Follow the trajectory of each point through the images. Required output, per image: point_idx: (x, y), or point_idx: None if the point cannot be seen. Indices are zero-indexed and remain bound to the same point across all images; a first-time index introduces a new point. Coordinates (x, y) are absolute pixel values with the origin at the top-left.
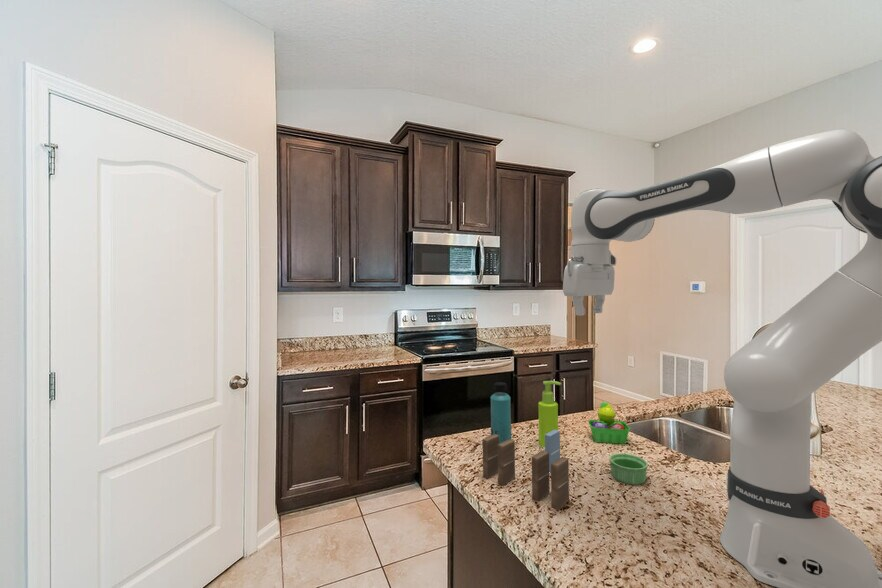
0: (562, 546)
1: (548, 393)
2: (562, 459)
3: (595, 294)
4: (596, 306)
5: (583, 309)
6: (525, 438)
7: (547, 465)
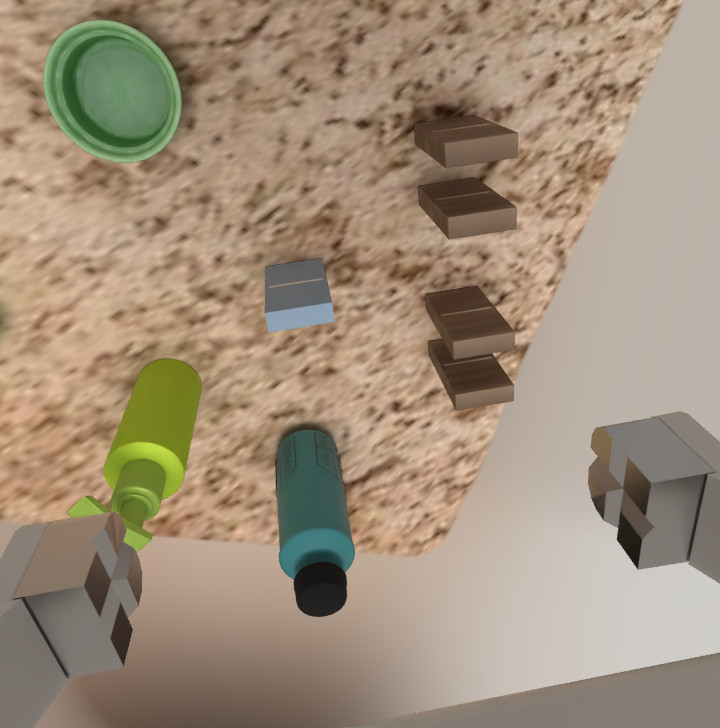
0: (598, 5)
1: (149, 492)
2: (463, 153)
3: (465, 713)
4: (97, 630)
5: (696, 457)
6: (198, 450)
7: (448, 205)
